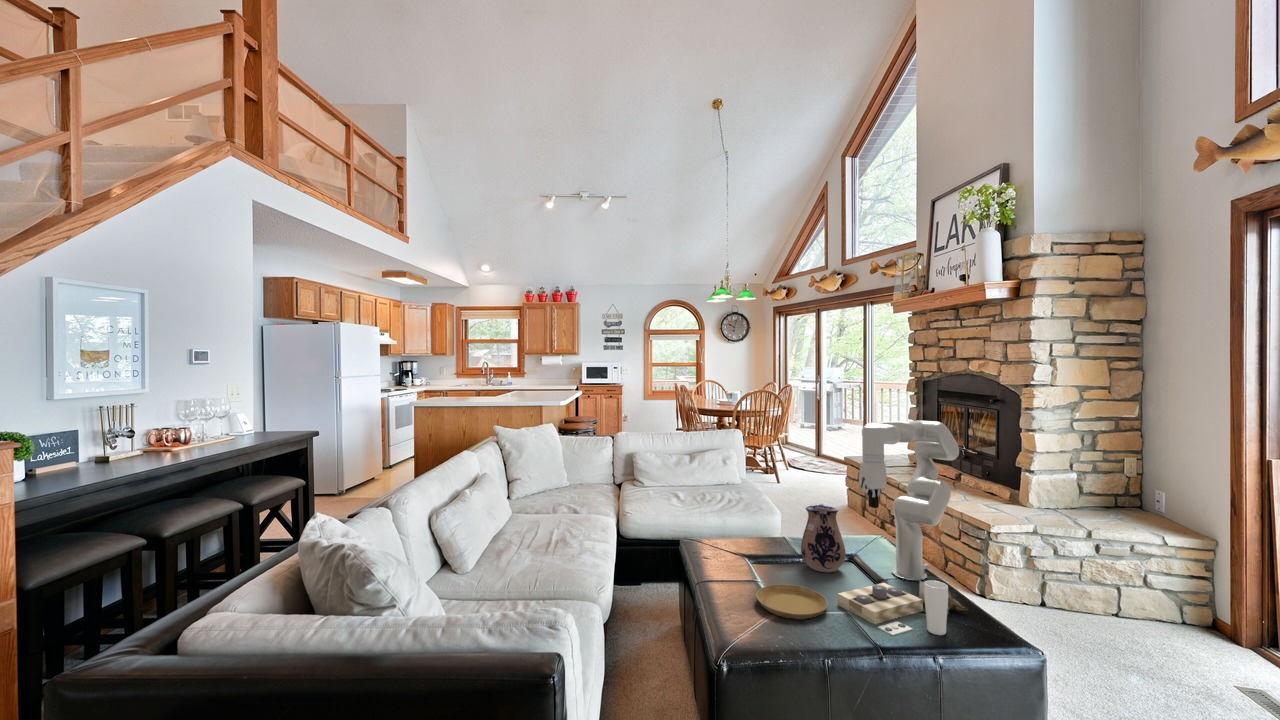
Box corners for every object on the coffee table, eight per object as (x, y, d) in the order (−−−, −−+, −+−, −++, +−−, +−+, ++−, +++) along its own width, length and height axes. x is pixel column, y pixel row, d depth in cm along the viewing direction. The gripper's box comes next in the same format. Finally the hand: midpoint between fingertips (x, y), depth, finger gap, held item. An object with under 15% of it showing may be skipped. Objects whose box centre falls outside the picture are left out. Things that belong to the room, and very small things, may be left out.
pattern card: (897, 622, 176) (897, 620, 176) (912, 629, 171) (912, 628, 171) (877, 628, 172) (877, 626, 172) (892, 635, 167) (892, 633, 167)
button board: (884, 593, 199) (884, 582, 199) (922, 611, 184) (922, 599, 184) (837, 604, 189) (837, 593, 189) (874, 624, 175) (874, 612, 175)
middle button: (878, 597, 190) (878, 584, 190) (889, 603, 186) (889, 589, 186) (869, 600, 188) (869, 586, 188) (880, 605, 184) (880, 591, 184)
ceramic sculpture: (930, 573, 195) (970, 591, 181) (930, 597, 195) (969, 617, 182) (909, 578, 191) (948, 597, 177) (908, 602, 191) (947, 623, 177)
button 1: (863, 607, 187) (863, 593, 187) (874, 613, 182) (874, 598, 183) (853, 610, 185) (853, 596, 185) (864, 615, 181) (864, 601, 181)
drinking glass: (919, 627, 173) (919, 580, 173) (939, 626, 173) (939, 579, 174) (933, 637, 166) (932, 588, 166) (953, 636, 167) (953, 588, 167)
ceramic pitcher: (805, 575, 216) (805, 513, 216) (796, 557, 237) (796, 501, 237) (850, 577, 214) (850, 514, 214) (837, 559, 235) (837, 502, 235)
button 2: (893, 599, 193) (893, 586, 193) (905, 605, 189) (904, 591, 189) (884, 602, 191) (884, 588, 191) (895, 607, 187) (895, 593, 187)
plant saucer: (839, 607, 188) (839, 597, 188) (806, 630, 171) (806, 620, 171) (778, 587, 205) (778, 578, 205) (743, 607, 188) (743, 597, 188)
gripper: (879, 455, 210) (879, 502, 209) (850, 458, 203) (851, 507, 203) (895, 458, 203) (896, 507, 203) (866, 461, 197) (867, 511, 196)
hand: (873, 507), depth 203 cm, fingers closed
